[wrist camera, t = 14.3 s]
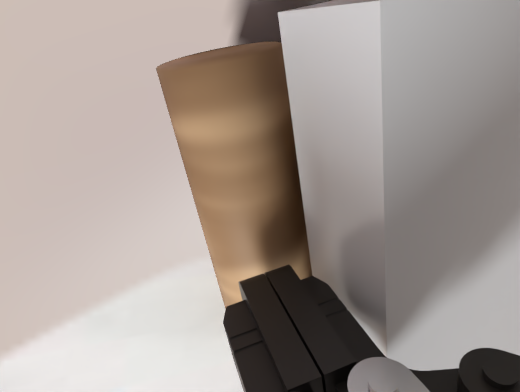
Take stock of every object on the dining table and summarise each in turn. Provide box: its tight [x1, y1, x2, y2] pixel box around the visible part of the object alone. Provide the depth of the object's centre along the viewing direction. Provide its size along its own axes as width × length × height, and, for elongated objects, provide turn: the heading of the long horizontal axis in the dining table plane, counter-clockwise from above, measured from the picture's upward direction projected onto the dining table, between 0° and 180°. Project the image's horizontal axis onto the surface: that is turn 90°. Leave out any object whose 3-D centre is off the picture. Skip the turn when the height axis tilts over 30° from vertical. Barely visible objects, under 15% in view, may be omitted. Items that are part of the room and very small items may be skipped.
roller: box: [156, 42, 312, 308], centre depth 13 cm, size 12×4×4 cm, turn 11°
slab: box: [278, 0, 520, 371], centre depth 12 cm, size 14×11×3 cm
